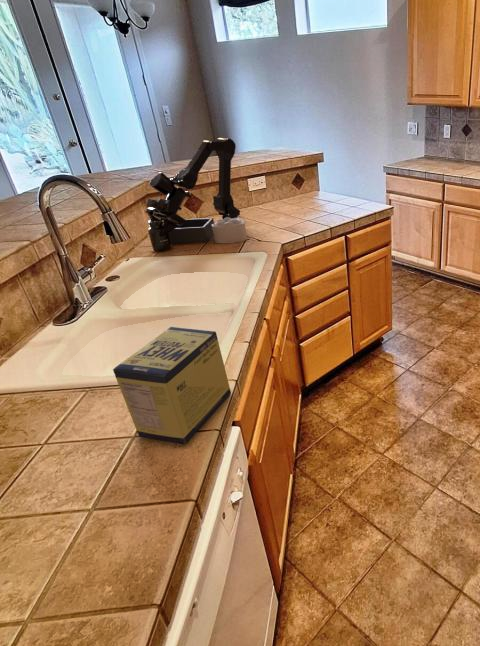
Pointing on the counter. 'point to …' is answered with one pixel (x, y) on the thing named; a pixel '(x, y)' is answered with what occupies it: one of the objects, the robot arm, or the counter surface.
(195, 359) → the protein box
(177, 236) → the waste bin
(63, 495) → the counter surface
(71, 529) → the counter surface
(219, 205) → the robot arm
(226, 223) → the white rounded block
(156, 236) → the supplement bottle
